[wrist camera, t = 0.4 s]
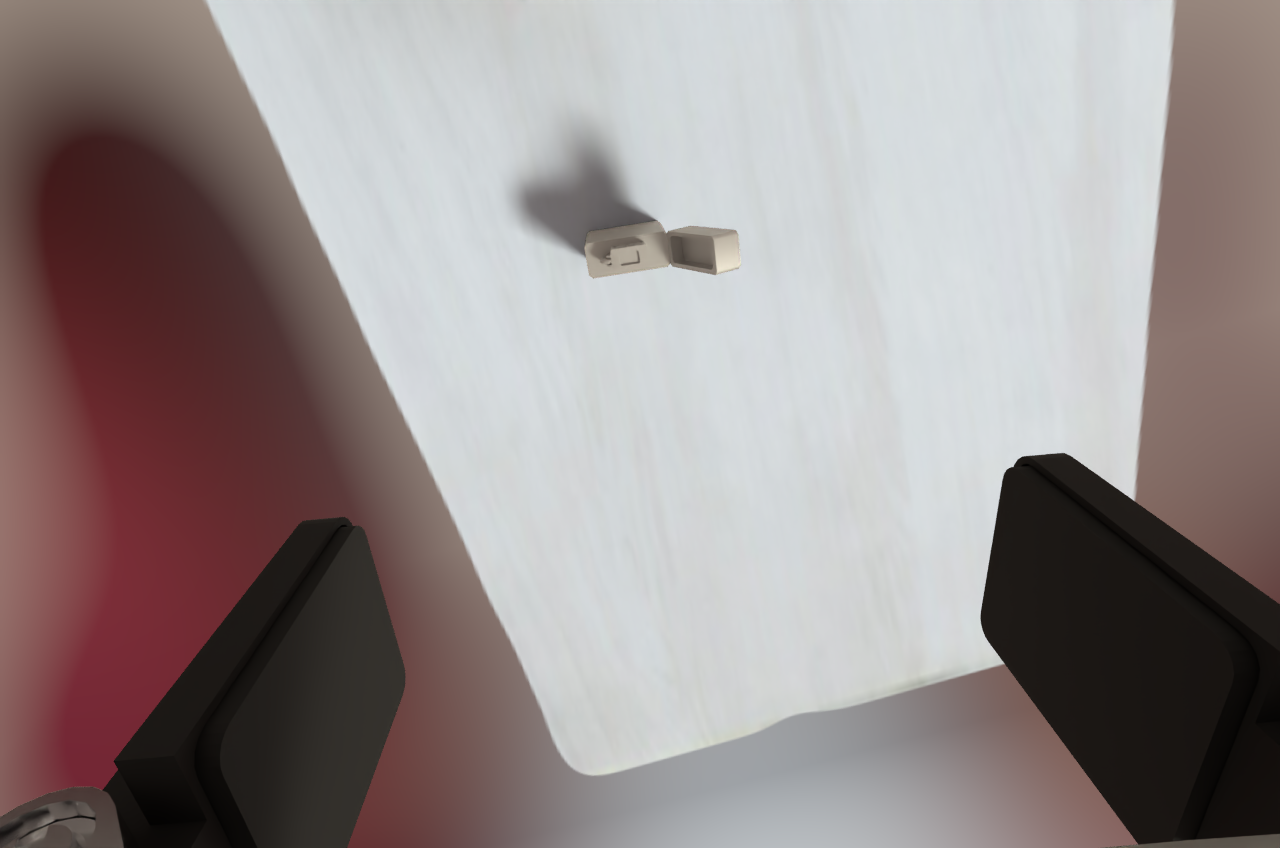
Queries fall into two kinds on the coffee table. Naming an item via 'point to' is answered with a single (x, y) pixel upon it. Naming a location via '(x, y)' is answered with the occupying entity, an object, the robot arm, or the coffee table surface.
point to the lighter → (661, 249)
